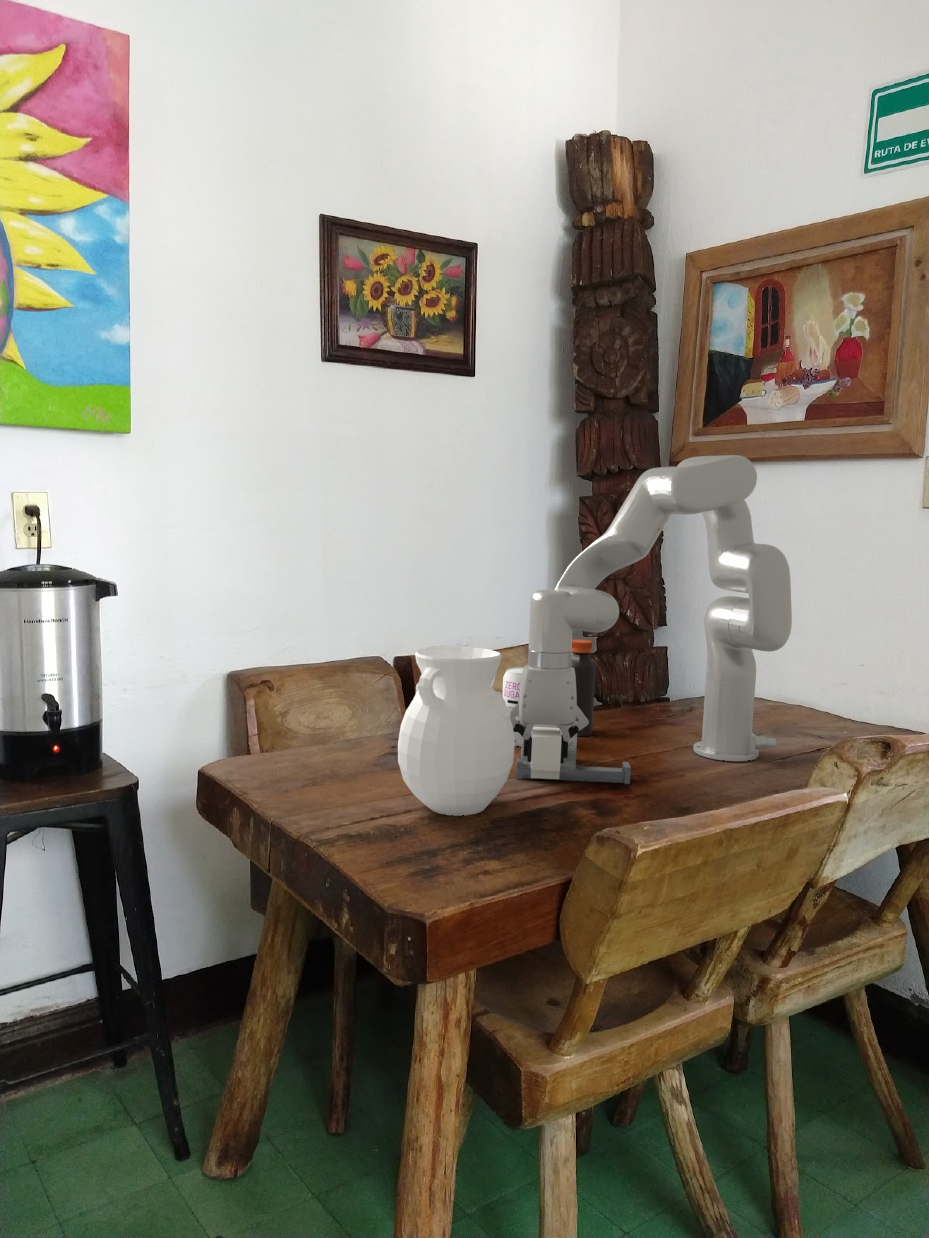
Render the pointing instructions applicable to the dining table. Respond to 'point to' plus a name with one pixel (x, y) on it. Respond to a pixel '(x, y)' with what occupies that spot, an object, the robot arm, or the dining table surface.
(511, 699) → the supplement can
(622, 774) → the rail
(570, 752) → the grey box
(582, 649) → the bottle
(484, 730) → the pitcher
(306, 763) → the dining table surface
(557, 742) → the carriage
